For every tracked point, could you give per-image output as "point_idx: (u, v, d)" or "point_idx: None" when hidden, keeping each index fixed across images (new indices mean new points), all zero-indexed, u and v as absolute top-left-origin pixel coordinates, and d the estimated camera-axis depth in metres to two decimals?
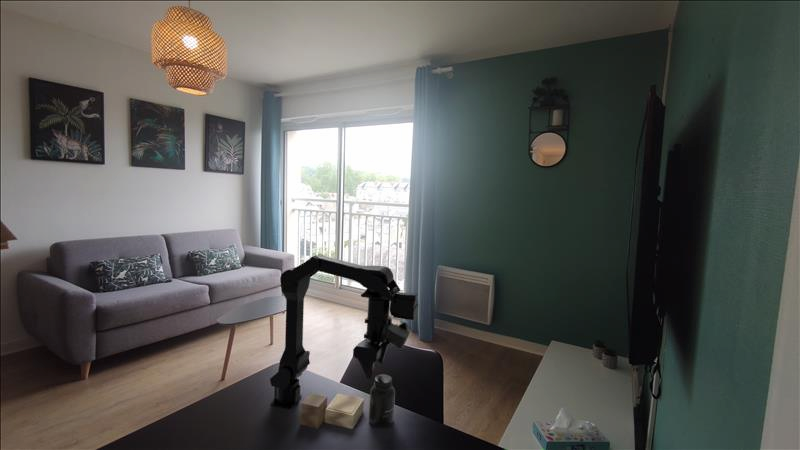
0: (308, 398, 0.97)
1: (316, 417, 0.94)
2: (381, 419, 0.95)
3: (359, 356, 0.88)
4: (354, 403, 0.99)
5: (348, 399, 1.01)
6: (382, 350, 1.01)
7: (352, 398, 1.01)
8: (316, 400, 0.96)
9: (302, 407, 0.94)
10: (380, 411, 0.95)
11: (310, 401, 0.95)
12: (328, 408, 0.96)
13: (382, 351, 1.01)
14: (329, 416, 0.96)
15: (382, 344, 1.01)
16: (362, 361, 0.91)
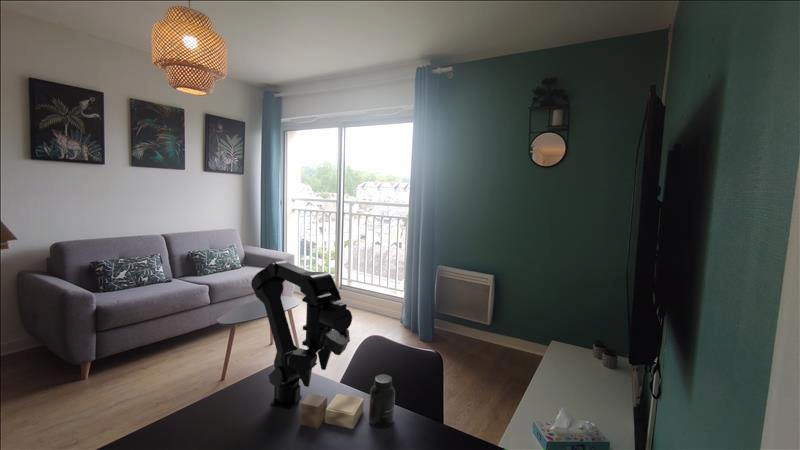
0: (308, 398, 0.97)
1: (316, 417, 0.94)
2: (381, 419, 0.95)
3: (293, 364, 0.87)
4: (354, 403, 0.99)
5: (348, 399, 1.01)
6: (325, 357, 1.00)
7: (352, 398, 1.01)
8: (316, 400, 0.96)
9: (302, 407, 0.94)
10: (380, 411, 0.95)
11: (310, 401, 0.95)
12: (328, 408, 0.96)
13: (325, 358, 1.00)
14: (329, 416, 0.96)
15: (325, 351, 1.00)
16: (298, 369, 0.90)
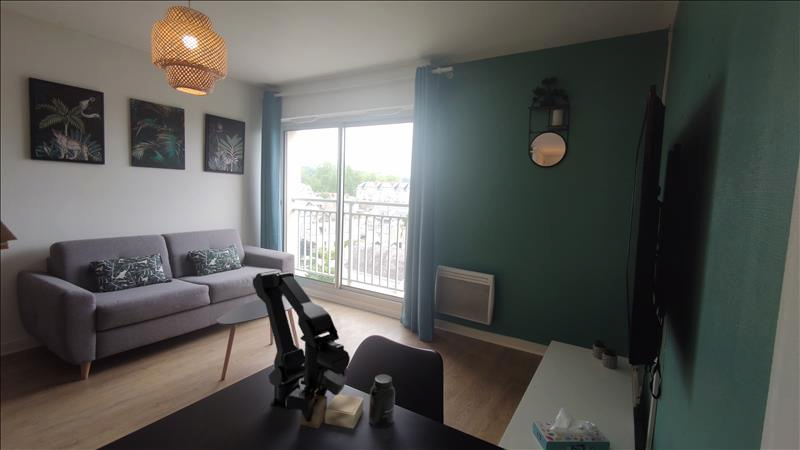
0: None
1: (316, 417, 0.94)
2: (381, 419, 0.95)
3: (291, 406, 0.87)
4: (354, 402, 0.99)
5: (348, 399, 1.01)
6: None
7: (352, 398, 1.01)
8: None
9: None
10: (380, 411, 0.95)
11: None
12: (328, 408, 0.96)
13: None
14: (330, 417, 0.96)
15: (320, 390, 0.99)
16: None
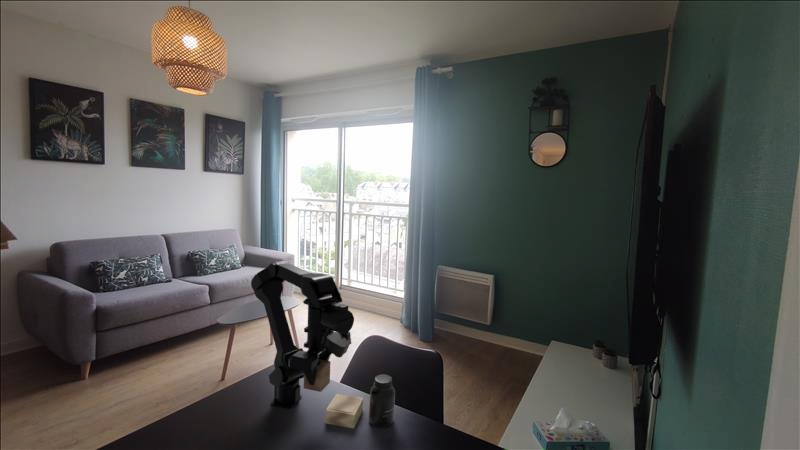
0: None
1: (319, 380, 0.93)
2: (381, 419, 0.95)
3: (294, 366, 0.87)
4: (354, 402, 0.99)
5: (347, 399, 1.01)
6: None
7: (351, 398, 1.02)
8: None
9: None
10: (380, 411, 0.95)
11: None
12: (329, 409, 0.96)
13: None
14: (330, 417, 0.96)
15: (323, 356, 0.98)
16: None
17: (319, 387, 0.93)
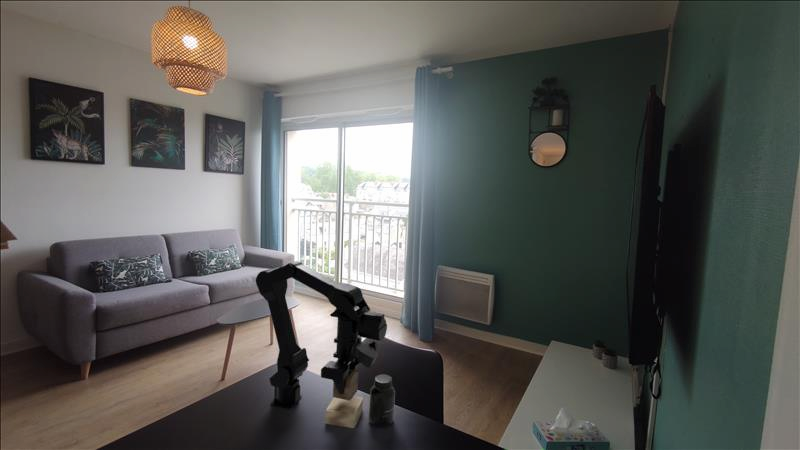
0: None
1: (349, 389, 0.95)
2: (381, 419, 0.95)
3: (326, 376, 0.89)
4: (354, 402, 0.99)
5: None
6: None
7: None
8: None
9: None
10: (380, 411, 0.95)
11: None
12: (329, 409, 0.96)
13: None
14: (330, 417, 0.96)
15: (351, 365, 1.01)
16: None
17: (348, 396, 0.96)
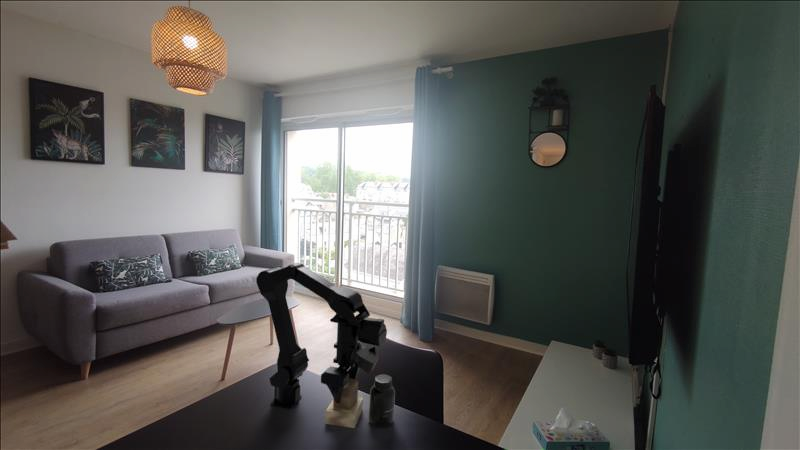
0: None
1: (349, 399, 0.96)
2: (381, 419, 0.95)
3: (326, 382, 0.89)
4: None
5: None
6: (353, 373, 1.03)
7: None
8: (348, 382, 0.98)
9: None
10: (380, 411, 0.95)
11: None
12: (329, 409, 0.96)
13: (353, 374, 1.03)
14: (330, 417, 0.96)
15: (353, 367, 1.03)
16: (330, 386, 0.93)
17: (348, 405, 0.96)
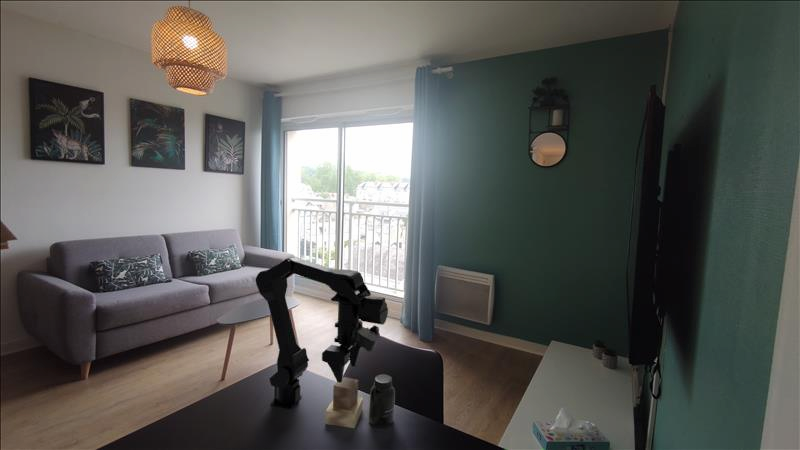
0: None
1: (348, 399, 0.96)
2: (381, 419, 0.95)
3: (327, 360, 0.89)
4: None
5: None
6: (354, 353, 1.02)
7: None
8: (348, 382, 0.98)
9: (334, 389, 0.97)
10: (380, 411, 0.95)
11: (342, 384, 0.97)
12: (329, 409, 0.96)
13: (355, 354, 1.02)
14: (330, 417, 0.96)
15: (354, 347, 1.02)
16: (332, 365, 0.92)
17: (348, 406, 0.96)
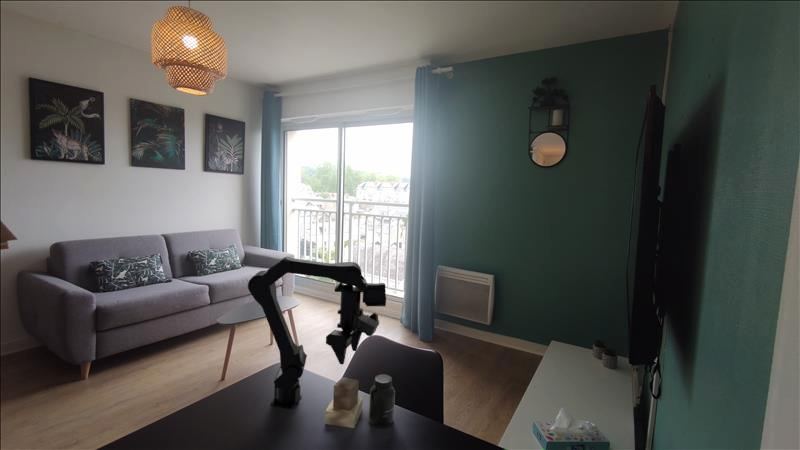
0: (340, 381, 0.99)
1: (348, 399, 0.95)
2: (381, 419, 0.95)
3: (331, 343, 0.97)
4: None
5: None
6: (355, 339, 1.11)
7: None
8: (348, 383, 0.98)
9: (335, 389, 0.97)
10: (380, 411, 0.95)
11: (342, 384, 0.97)
12: (328, 409, 0.96)
13: (355, 340, 1.11)
14: (330, 417, 0.96)
15: (355, 333, 1.11)
16: (335, 348, 1.00)
17: (348, 406, 0.96)
